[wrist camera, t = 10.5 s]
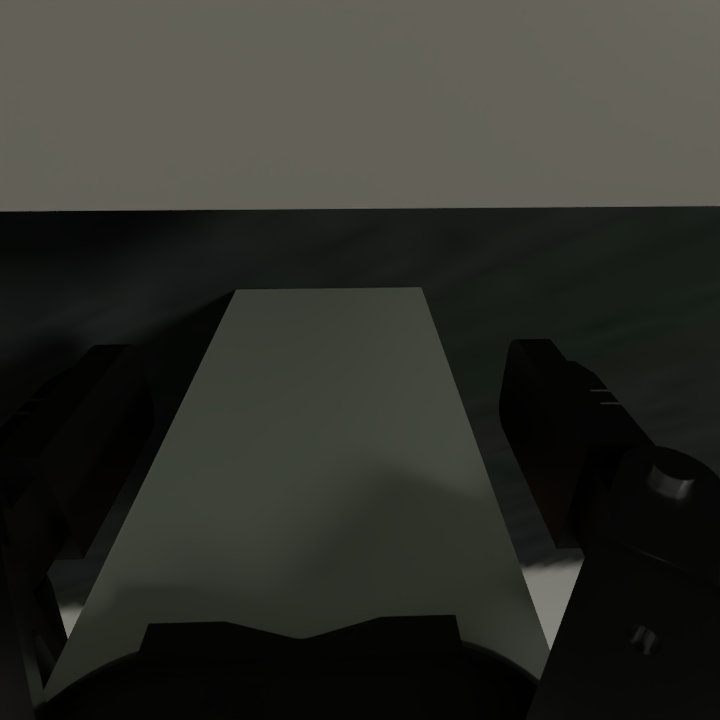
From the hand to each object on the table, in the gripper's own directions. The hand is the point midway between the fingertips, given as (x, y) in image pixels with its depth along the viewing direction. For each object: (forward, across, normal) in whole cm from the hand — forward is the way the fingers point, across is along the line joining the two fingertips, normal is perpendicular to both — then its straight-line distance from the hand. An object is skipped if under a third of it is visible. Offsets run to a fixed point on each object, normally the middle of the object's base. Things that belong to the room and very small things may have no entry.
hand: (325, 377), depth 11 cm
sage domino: (+3, 0, 0) cm, 3 cm away
